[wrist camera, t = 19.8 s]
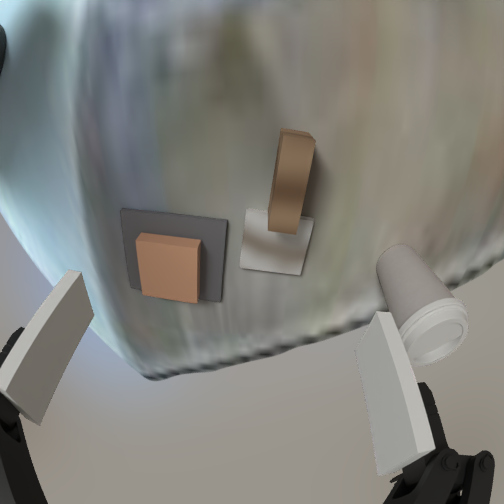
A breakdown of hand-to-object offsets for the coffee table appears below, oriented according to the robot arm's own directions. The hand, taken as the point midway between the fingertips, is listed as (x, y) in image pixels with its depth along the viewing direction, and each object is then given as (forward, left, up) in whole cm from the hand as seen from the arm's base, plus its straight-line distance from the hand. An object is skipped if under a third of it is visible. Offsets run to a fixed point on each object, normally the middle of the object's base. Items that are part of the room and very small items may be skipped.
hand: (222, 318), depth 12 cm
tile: (+10, -9, -21) cm, 25 cm away
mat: (+14, -9, -23) cm, 28 cm away
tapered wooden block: (+5, +4, -23) cm, 24 cm away
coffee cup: (+10, +22, -23) cm, 33 cm away
